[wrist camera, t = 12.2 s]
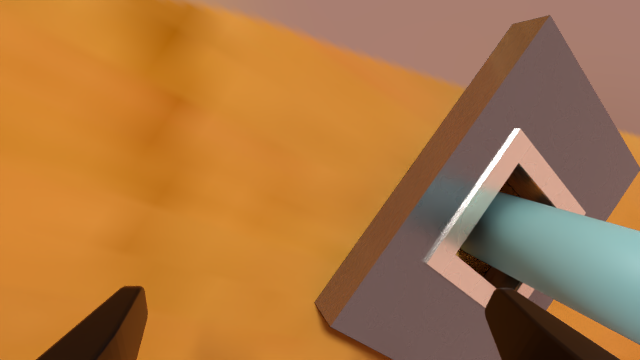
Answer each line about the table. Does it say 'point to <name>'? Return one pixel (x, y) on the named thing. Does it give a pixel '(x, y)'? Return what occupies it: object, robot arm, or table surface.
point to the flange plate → (478, 200)
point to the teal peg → (564, 258)
